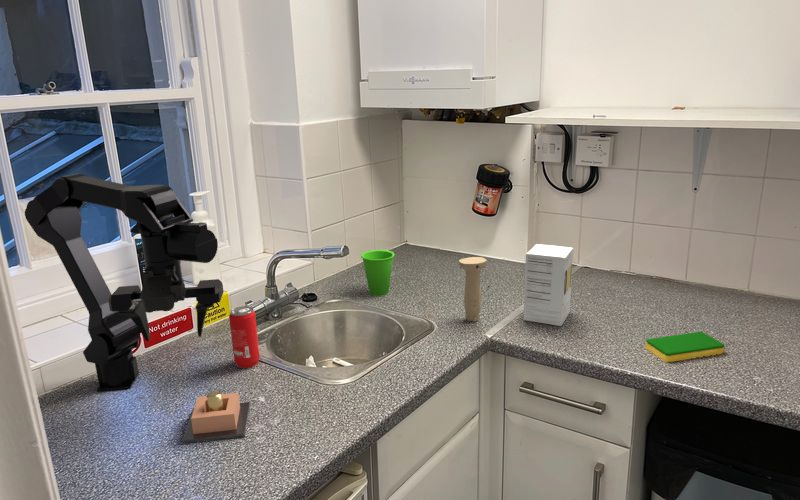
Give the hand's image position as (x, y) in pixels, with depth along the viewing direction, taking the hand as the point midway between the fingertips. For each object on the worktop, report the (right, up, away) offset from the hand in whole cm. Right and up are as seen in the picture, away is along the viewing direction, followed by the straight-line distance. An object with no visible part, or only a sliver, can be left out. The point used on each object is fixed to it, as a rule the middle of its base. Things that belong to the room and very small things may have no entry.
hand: (174, 338), depth 110 cm
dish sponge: (+101, -5, +16) cm, 103 cm away
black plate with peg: (+10, -14, -6) cm, 18 cm away
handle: (+59, -1, +34) cm, 68 cm away
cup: (+36, +4, +53) cm, 64 cm away
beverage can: (+10, -8, +15) cm, 20 cm away
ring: (+10, -13, -6) cm, 18 cm away
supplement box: (+77, 0, +34) cm, 85 cm away
